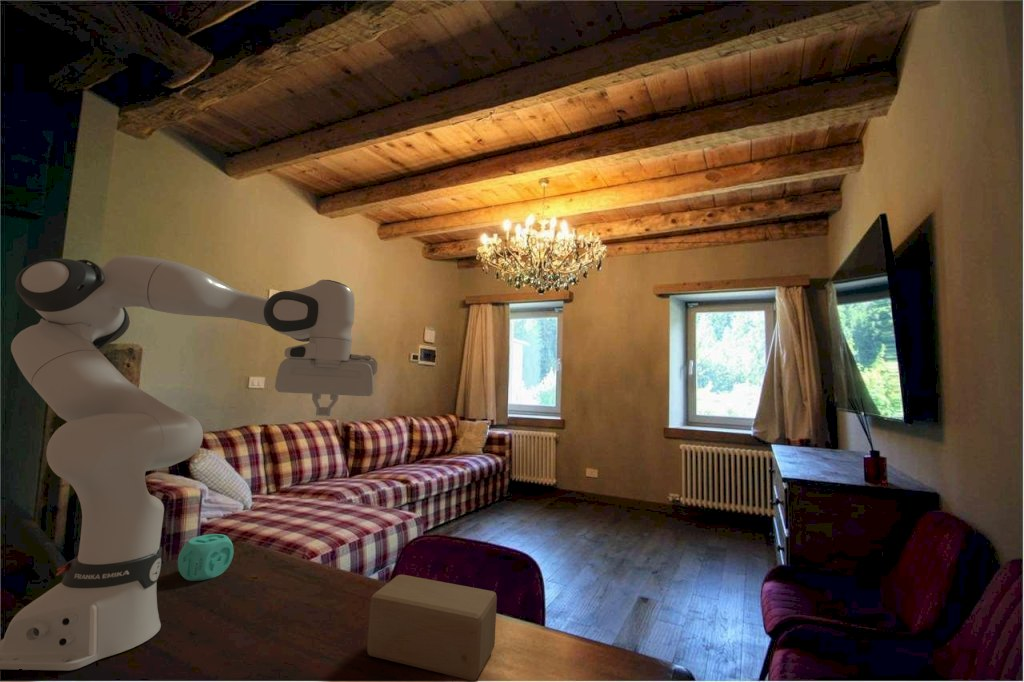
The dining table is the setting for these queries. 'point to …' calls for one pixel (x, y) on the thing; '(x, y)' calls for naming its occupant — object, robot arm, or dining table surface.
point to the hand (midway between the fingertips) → (323, 415)
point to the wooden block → (433, 625)
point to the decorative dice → (205, 557)
